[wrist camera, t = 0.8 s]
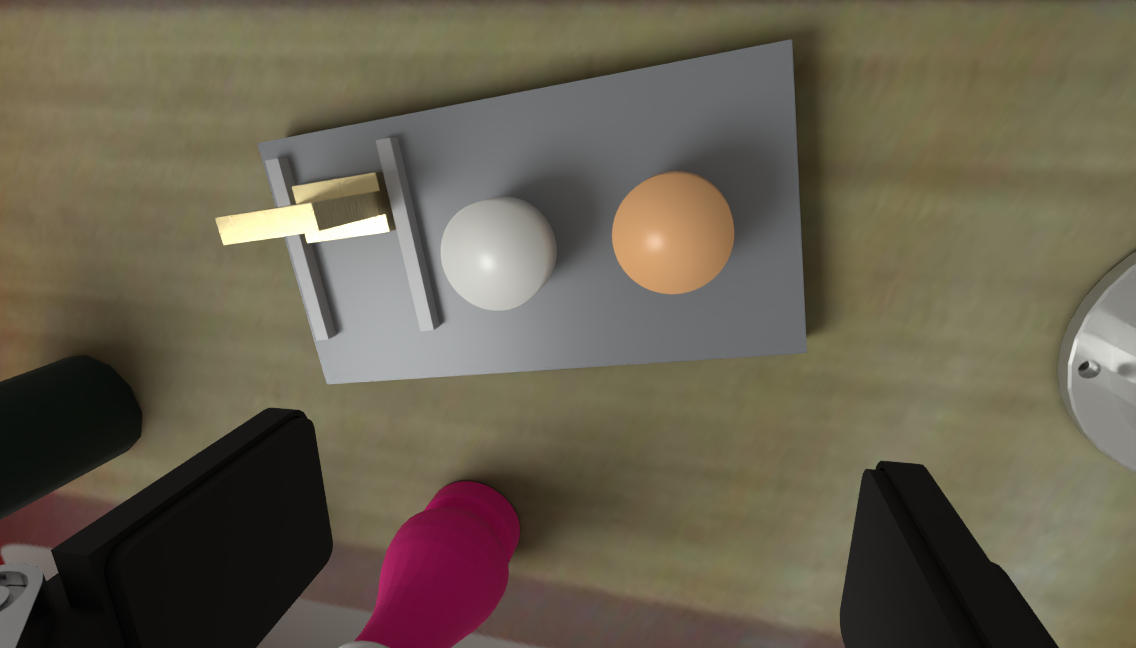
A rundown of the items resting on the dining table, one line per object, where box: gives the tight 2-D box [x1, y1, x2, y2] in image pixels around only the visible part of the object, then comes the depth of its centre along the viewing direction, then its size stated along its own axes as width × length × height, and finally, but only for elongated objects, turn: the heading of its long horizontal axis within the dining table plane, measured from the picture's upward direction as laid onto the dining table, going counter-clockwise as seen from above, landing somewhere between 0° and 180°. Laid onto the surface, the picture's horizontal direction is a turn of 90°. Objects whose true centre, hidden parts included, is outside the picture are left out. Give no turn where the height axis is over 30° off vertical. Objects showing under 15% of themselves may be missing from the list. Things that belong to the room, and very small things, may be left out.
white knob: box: [441, 196, 557, 311], centre depth 28 cm, size 5×5×2 cm
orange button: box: [612, 171, 734, 294], centre depth 25 cm, size 5×5×2 cm
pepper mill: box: [339, 481, 520, 648], centre depth 29 cm, size 7×7×20 cm
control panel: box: [257, 39, 807, 384], centre depth 31 cm, size 27×14×3 cm, turn 100°
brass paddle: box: [215, 172, 396, 245], centre depth 29 cm, size 5×3×6 cm, turn 100°
